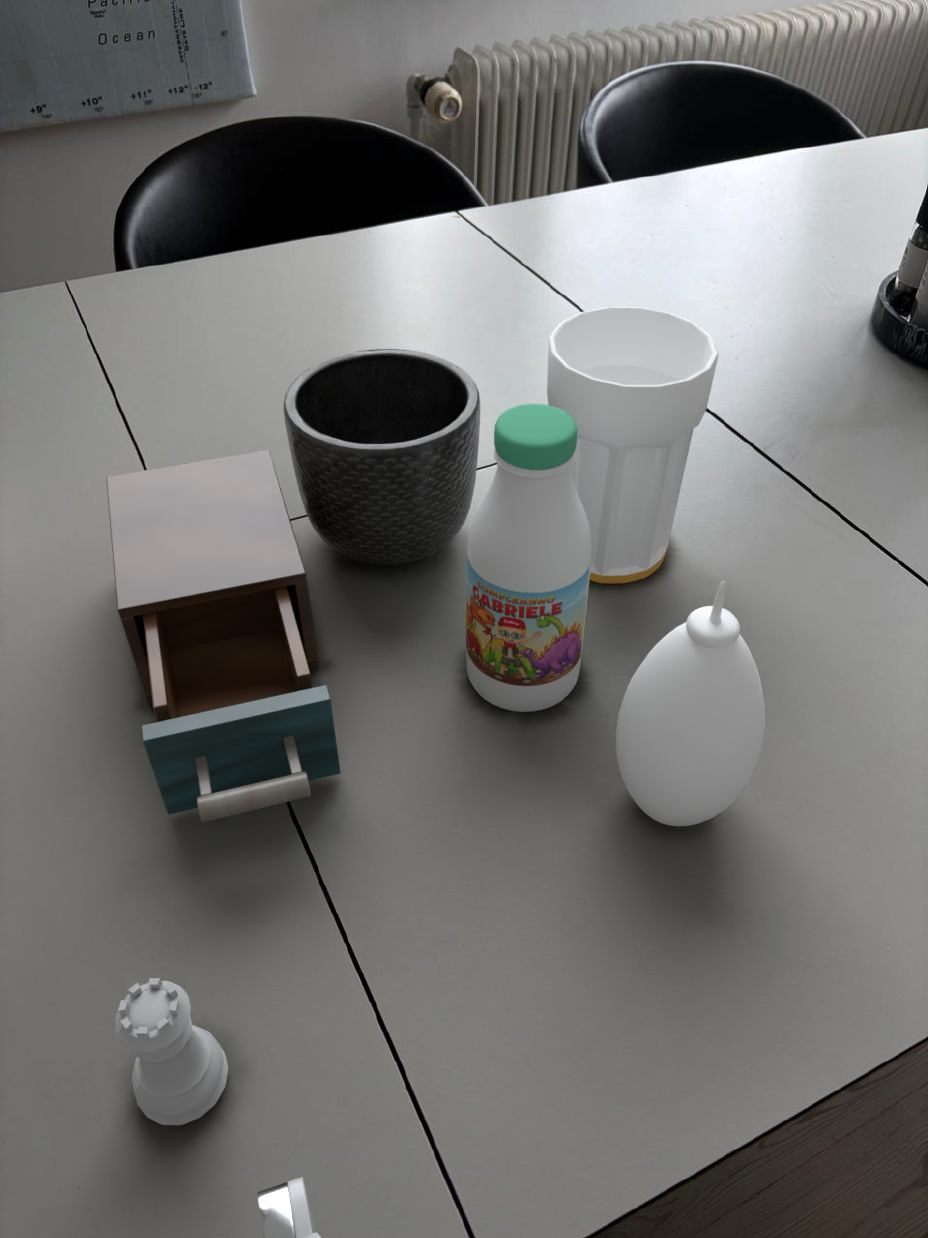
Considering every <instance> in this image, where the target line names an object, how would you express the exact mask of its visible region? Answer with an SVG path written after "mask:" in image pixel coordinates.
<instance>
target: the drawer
mask: <svg viewBox="0 0 928 1238" xmlns="http://www.w3.org/2000/svg"><path fill="white" fill-rule="evenodd" d="M143 621H144V630H145V639H146V648H147V657H148V666H149V675H150V684H151V693H152V702H153V703H152V709H153V713H154V715H155V718H156V722H151V723H146V724H143V725H141V726H140V727H141V736H142V737H141V738H142V743H143V746H144V749H145V752H146V755H147V758H148V760H149V764H150V766H151V770H152V772H153V775H154V778H155V781H156V784H157V787H158V790H159V792H160V796H161V798H162V801H163V804H164V807H165V810H166V814H167V815H168V816H170V815H174V814H178V813H183V812H186V811H191V810H195V809H197V811H198V815H199V818H200V819H199V820H200V821H201V822H202V823H208V822H211V821H215V820H218V819H222V818H226V817H231V816H235V815H239V814H243V813H248V812H251V811H254V810H259V809H265V808H268V807H272V806H276V805H280V804H284V803H285V804H286V803H289V802H293V801H297V800H301V799H305V798H309V797H311V796H312V792H311V787H310V782H312V781H316V780H321V779H325V778H328V777H329V778H330V777H333V776H336V775H341V773H342V772H341V767H340V758H339V752H338V745H337V737H336V729H335V722H334V716H333V715H334V714H333V707H332V700H331V697H330V692H329V690H328V686H327V685H326V684H324V685H319V686H315V687H313V683H312V682H313V681H312V675H311V670H310V669H309V667H308V663H307V660H306V656H305V652H304V649H303V645H302V641H301V638H300V634H299V630H298V627H297V623H296V619H295V616H294V612H293V608H292V604H291V601H290V597H289V593H288V590H287V586H285V587H280V588H275V589H270V590H265V591H260V592H255V593H249V594H244V595H239V596H234V597H229V598H224V599H219V600H214V601H209V602H204V603H199V604H194V605H189V606H184V607H178V608H173V609H168V610H163V611H158V612H153V613H148V614H143Z"/></svg>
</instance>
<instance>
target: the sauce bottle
mask: <svg viewBox="0 0 928 1238" xmlns="http://www.w3.org/2000/svg"><path fill="white" fill-rule="evenodd" d="M725 595H726V581H725V580H722V581H721V582H720V584H719V586H718V588H717V592H716V595H715V597H714V601H713V605H706V606H701V607H699V608H696V609H695V610H692V612H690V614H689V615H688V617H687V619H686V621H685V622H683V623H682V624H679V625H678V626H675V628H673V629H672V630H670V632H668V633H667V634H666V635H665V636H664V637H662V639H660V640H659V641H657V643H655V645H654V646H653V647H652V649H651V650H649V652H648V654H646V656H645V658H644V659H643V661H641V663H640V665H639V666H638V668H637V669H636V671H635V672H634V674H633V676H632V677H631V679H630V681H629V683H628V685H627V687H626V690H625V692H624V695H623V698H622V702H621V705H620V709H619V711H618V716H617V720H616V726H615V727H616V728H615V753H616V761H617V764H618V768H619V772H620V776H621V778H622V781H623V783H624V785H625V787H626V789H627V791H628V793H629V795H630V796H631V798H632V799H633V801H634V802H635V804H636V805H637V806H638V807H639V808H640V810H642V812H644V814H645V815H646V816H648V817H649V818H651V819H652V820H654V821H656V822H658V823H659V824H663V825H666V826H671V827H690V826H694V825H698V824H701V823H704V822H706V821H708V820H711V819H712V818H714V817H716V816H717V815H719V814H721V813H723V812H724V811H725V810H727V809H728V808H729V807H730V806H731V805H732V804H733V803H734V802H736V800H737V799H738V798H739V797H740V796H741V795H742V794H743V792H744V791H745V789H746V787H748V785H749V783H750V780H751V778H752V777H753V776H754V773H755V771H756V768H757V767H758V763H759V760H760V757H761V753H762V747H763V742H764V736H765V729H766V728H765V727H766V709H765V701H764V699H765V698H764V693H763V688H762V686H763V685H762V681H761V677H760V674H759V673H760V672H759V670H758V667H757V664H756V662H755V659H754V656H753V654H752V652H751V650H750V648H749V646H748V644H747V643H746V641H745V640H744V638H743V636H742V635H741V634H740V633H741V626H740V623H739V621H738V619H737V617H736V616H735V615H734V614H733V613H732V612H731V611H729V610H728V609H726V608H724V601H725Z"/></svg>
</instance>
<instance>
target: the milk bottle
mask: <svg viewBox="0 0 928 1238" xmlns="http://www.w3.org/2000/svg"><path fill="white" fill-rule="evenodd" d="M576 443H577V426H576V423H575V421H574V419H573V418H572V417H571V416H570V415H569V414H568V413H566V412H565V411H563V410H561V409H559V408H556V407H553V406H549V405H548V404H544V403H543V404H542V403H527V404H520V405H516V406H513V407H510V408H508V409H507V410H505V411H504V412H502V413H501V414H499V416H498V417H497V419H496V421H495V425H494V430H493V445H494V450H493V458H494V460H495V463H496V464H497V466H496V471H495V474H494V476H493V479H492V481H491V483H490V485H489V487H488V489H487V491H486V492H485V494H484V495H483V497H482V499H481V501H480V502H479V504H478V506H477V508H476V511H475V513H474V515H473V517H472V521H471V525H470V527H469V533H468V540H467V550H466V551H467V553H466V586H465V587H466V591H465V592H466V594H465V595H466V597H465V608H466V609H465V619H466V620H465V640H466V641H465V655H466V657H465V658H466V673H467V677H468V680H469V682H470V684H471V686H472V687H473V689H474V690H475V691H476V693H477V694H478V695H479V696H480V697H482V698H483V700H485V701H486V702H488V703H490V704H491V705H493V706H496V707H498V708H500V709H502V710H508V711H511V712H520V713H526V712H530V713H531V712H537V711H543V710H546V709H548V708H552V707H553V706H555V705H557V704H559V703H560V702H562V701H563V700H564V699H566V697H567V696H569V695H570V693H571V692H572V691H573V690H574V688H575V687H576V684H577V682H578V679H579V674H580V668H581V662H582V652H583V645H584V634H585V626H586V619H587V618H586V617H587V608H588V599H589V586H590V580H589V578H590V566H591V534H590V528H589V523H588V519H587V516H586V513H585V510H584V508H583V506H582V504H581V501H580V499H579V497H578V495H577V493H576V490H575V488H574V485H573V481H572V477H571V472H570V467H571V466H572V465H573V463H574V461H575V449H576Z"/></svg>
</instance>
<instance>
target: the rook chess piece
mask: <svg viewBox="0 0 928 1238" xmlns="http://www.w3.org/2000/svg"><path fill="white" fill-rule="evenodd" d="M127 991H128V994H127V995H126V997H125V998H124V999H120V1003H119V1006H118V1008H117V1012H116V1015H115V1018H114V1019H115V1020H114V1027H115V1034H116V1037H117V1038H118V1040H119V1041H120V1042H121V1044H122V1045H123V1046H124V1047H125V1048H127V1049H129V1050H130V1051H131V1052H132V1053H133V1054H134V1056H135V1062H134V1066H133V1069H132V1073H131V1082H132V1083H131V1084H132V1088H133V1095H134V1097H135V1099H136V1104H137V1106H138V1107H139V1109H140V1110H141V1111H142V1113H143V1114H144V1115H145V1117H146V1118H147V1119H150V1120H151V1121H154V1122H155V1123H157V1124H159V1125H162V1126H183V1125H185V1124H187V1123H190V1122H193V1121H195V1120H197V1119H200V1118H201V1117H203V1116H204V1115H205V1114H206V1113H207V1112H208V1111H209V1110H211V1108H213V1107H214V1106H215V1105H217V1102H218V1100H219V1098H220V1097H221V1096H222V1093H223V1092H224V1090H225V1088H226V1085H227V1079H228V1075H229V1074H228V1073H229V1066H228V1065H229V1064H228V1059H227V1055H226V1053H225V1050H224V1049H223V1048H222V1047H221V1044H220V1043H219V1041H218V1040H217V1039H216V1037H214V1036H213V1034H212V1033H211V1032H210V1031H208V1030H206V1029H204V1028H202V1027H199V1026H197V1025H195V1024H193V1022H192V1018H191V1012H192V1006H191V1001H190V997H189V995H188V993H187V992H186V991H185V990H184V989H183V988H182V986H181V985H179V984H176V983H174V982H172V981H170V980H162V979H161V977H154V978H152V977H149V978H148V982H147V983H144V984H139V982H137V983H135V984H133V985H132V986H131V987H130V988H129V989H127Z"/></svg>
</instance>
